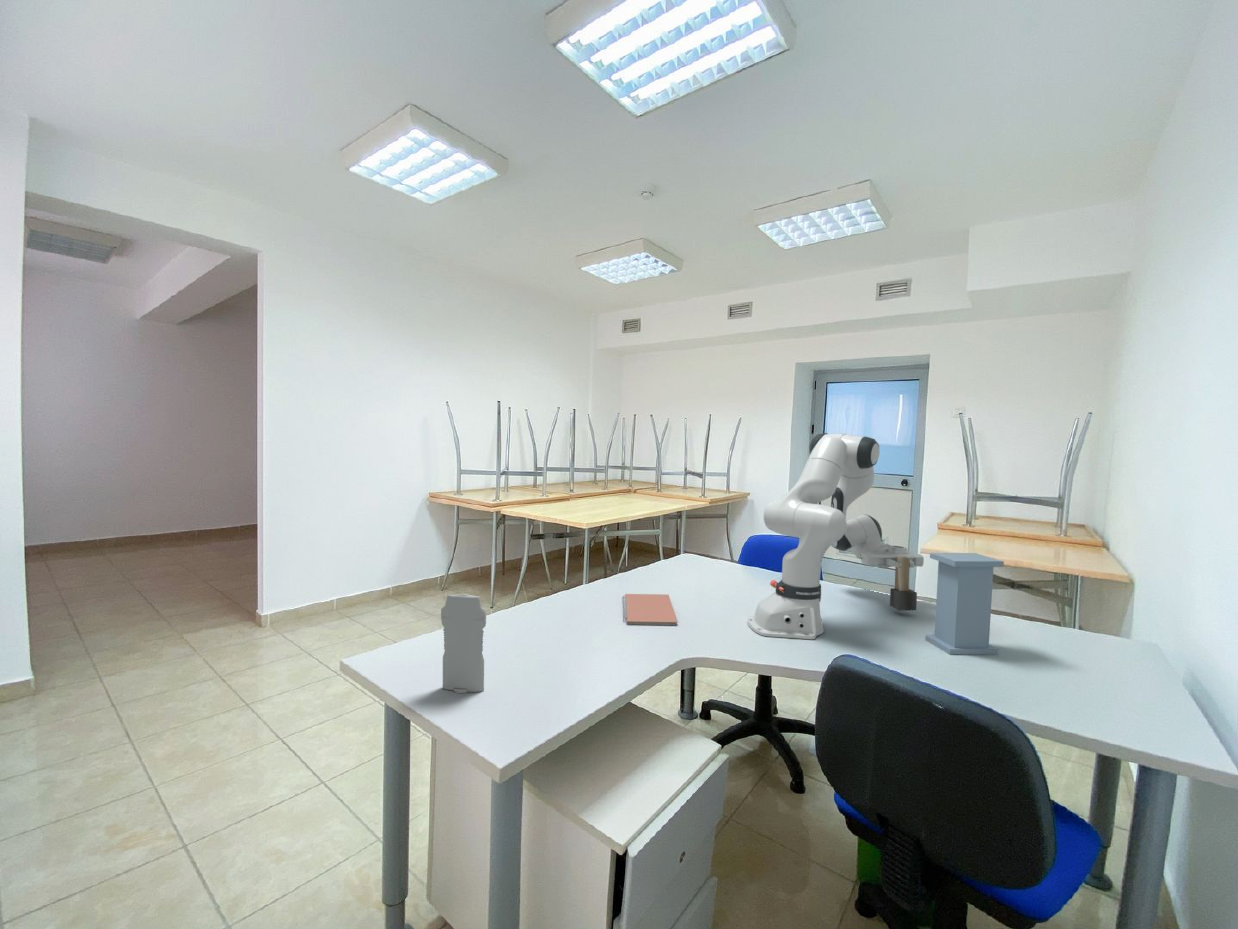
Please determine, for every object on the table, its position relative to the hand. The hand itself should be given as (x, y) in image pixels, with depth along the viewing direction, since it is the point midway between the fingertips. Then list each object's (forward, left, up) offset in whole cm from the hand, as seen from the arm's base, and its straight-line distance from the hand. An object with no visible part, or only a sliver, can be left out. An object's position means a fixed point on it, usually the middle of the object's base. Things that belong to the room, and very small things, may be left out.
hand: (905, 565), depth 169 cm
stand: (0, -26, -17) cm, 31 cm away
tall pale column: (-135, -47, -17) cm, 144 cm away
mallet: (0, +3, -6) cm, 7 cm away
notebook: (-86, +5, -18) cm, 88 cm away
